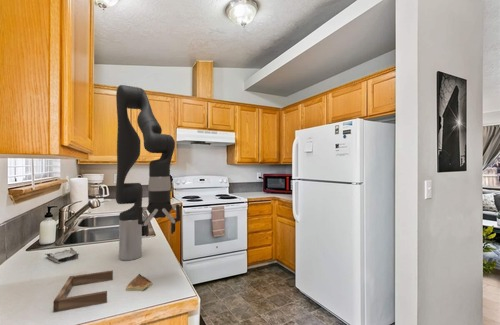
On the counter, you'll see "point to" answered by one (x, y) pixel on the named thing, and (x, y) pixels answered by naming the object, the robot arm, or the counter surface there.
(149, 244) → the counter surface
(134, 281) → the shard
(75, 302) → the wooden c-shaped bracket
